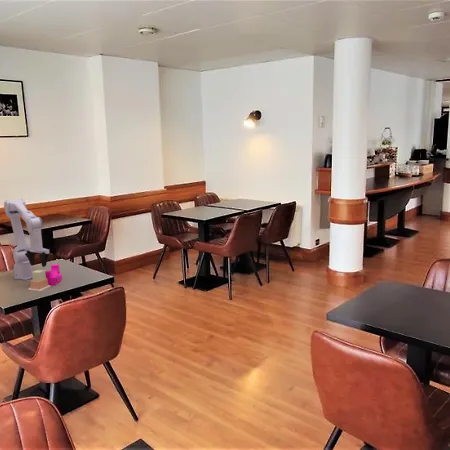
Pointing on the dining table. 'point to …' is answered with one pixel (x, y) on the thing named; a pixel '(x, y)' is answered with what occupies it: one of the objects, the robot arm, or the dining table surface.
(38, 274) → the sage brick
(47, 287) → the baseplate
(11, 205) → the robot arm
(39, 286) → the terracotta brick
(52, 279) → the toy block
